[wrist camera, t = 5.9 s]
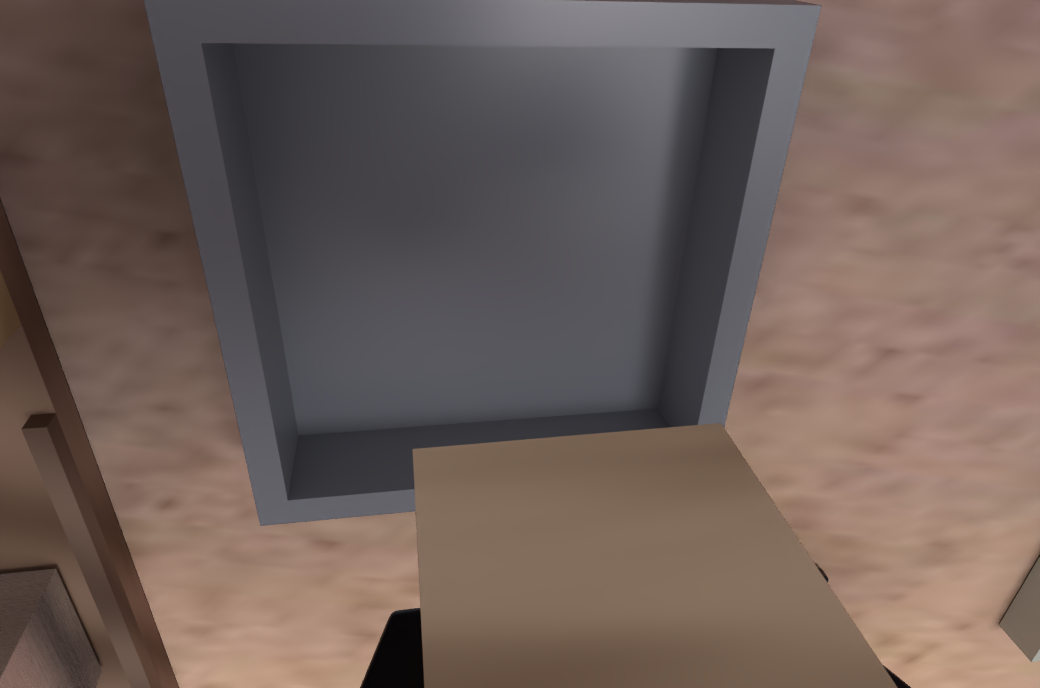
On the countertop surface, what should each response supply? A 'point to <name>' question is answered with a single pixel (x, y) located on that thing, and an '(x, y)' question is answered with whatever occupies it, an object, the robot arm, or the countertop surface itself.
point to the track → (64, 494)
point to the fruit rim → (1026, 616)
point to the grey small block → (42, 635)
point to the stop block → (621, 570)
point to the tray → (473, 219)
